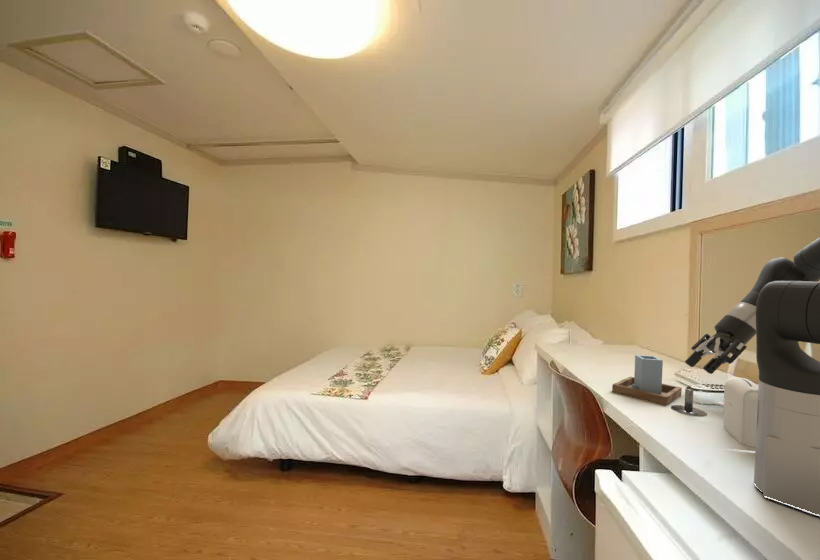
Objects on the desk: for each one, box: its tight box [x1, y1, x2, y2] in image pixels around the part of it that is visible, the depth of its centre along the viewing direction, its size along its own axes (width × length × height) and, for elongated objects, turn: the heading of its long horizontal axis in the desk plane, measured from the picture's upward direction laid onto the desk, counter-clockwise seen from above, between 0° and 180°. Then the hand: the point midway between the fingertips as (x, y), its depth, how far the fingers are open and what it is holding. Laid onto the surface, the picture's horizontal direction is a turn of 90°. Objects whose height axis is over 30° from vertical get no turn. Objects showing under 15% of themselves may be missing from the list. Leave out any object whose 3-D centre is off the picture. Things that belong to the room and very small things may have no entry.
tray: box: [612, 376, 683, 407], centre depth 102 cm, size 13×13×2 cm
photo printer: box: [722, 376, 759, 448], centre depth 76 cm, size 10×4×12 cm, turn 157°
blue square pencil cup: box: [632, 354, 664, 395], centre depth 102 cm, size 5×6×10 cm
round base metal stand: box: [670, 388, 708, 417], centre depth 90 cm, size 7×7×6 cm
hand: (697, 367), depth 98 cm, fingers open, 8 cm apart
